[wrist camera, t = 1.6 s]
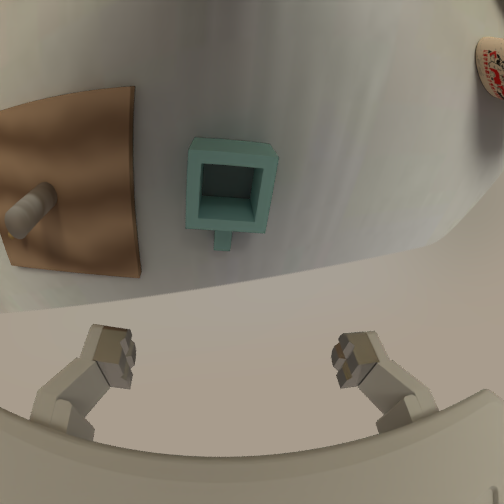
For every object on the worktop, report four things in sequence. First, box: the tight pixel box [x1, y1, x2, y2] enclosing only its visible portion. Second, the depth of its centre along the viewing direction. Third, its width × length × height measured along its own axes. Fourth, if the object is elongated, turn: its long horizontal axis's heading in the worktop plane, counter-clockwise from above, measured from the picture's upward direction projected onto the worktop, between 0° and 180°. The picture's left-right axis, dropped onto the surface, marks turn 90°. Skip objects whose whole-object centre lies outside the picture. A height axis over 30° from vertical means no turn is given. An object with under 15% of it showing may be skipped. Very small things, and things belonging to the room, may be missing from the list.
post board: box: [0, 86, 142, 278], centre depth 20 cm, size 20×20×7 cm
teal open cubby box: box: [185, 137, 279, 251], centre depth 24 cm, size 10×7×5 cm, turn 172°
